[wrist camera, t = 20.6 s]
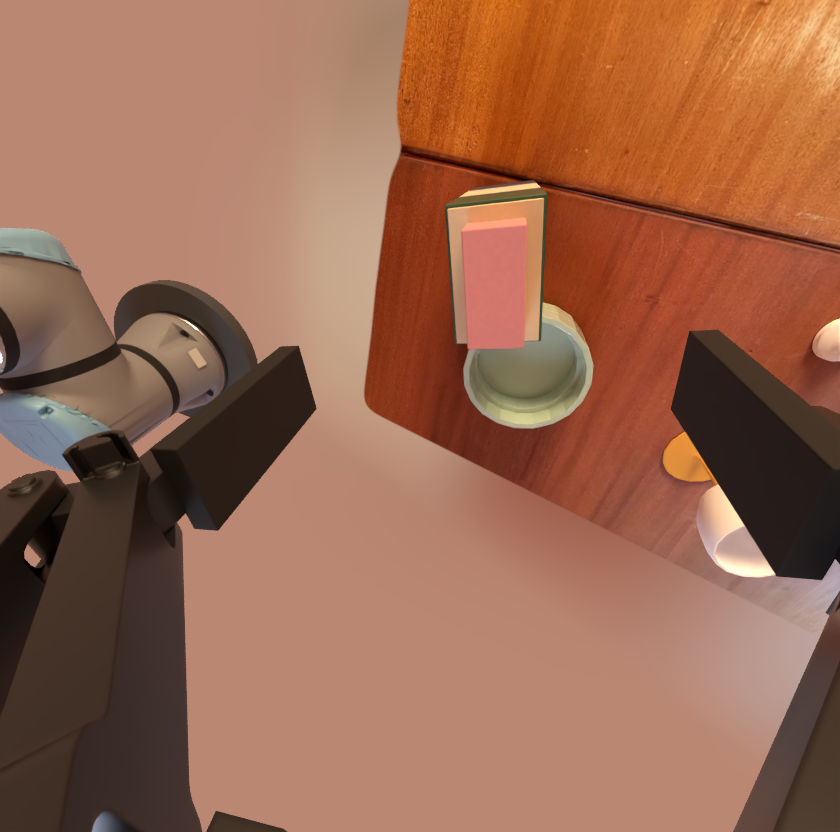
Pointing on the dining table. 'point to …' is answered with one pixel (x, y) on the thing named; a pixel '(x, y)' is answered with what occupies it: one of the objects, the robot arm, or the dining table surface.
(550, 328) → the bowl
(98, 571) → the robot arm
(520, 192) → the book stack
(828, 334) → the chess piece
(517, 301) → the eraser
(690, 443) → the cup
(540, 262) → the felt pad
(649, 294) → the dining table surface
